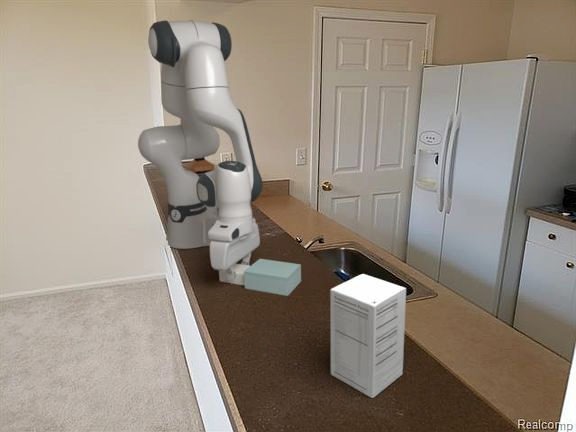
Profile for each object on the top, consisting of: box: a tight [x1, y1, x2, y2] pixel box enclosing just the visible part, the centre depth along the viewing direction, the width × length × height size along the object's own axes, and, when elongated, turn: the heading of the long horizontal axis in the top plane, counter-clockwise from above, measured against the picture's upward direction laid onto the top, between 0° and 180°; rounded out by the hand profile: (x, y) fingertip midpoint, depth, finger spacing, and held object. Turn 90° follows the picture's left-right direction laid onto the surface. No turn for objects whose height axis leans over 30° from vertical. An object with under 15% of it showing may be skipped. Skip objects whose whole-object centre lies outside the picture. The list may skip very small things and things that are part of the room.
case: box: [244, 258, 302, 297], centre depth 112 cm, size 9×12×5 cm
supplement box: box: [329, 273, 407, 399], centre depth 74 cm, size 10×9×17 cm
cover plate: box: [218, 262, 251, 287], centre depth 115 cm, size 6×14×3 cm, turn 66°
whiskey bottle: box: [185, 157, 218, 208], centre depth 181 cm, size 10×10×32 cm
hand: (238, 273), depth 116 cm, fingers closed on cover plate, 6 cm apart
